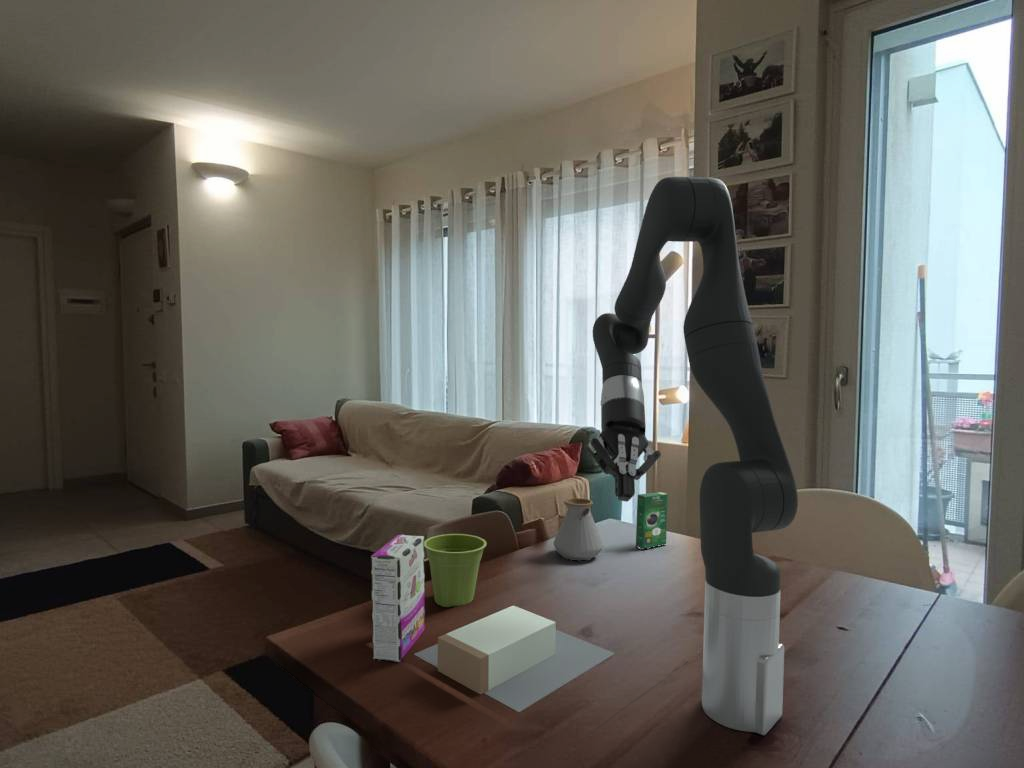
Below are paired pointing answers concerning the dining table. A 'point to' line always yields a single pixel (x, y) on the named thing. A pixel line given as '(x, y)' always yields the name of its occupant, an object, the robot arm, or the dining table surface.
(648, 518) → the coffee box
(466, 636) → the cream block
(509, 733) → the dining table surface
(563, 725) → the dining table surface
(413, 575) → the candy bar box
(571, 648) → the rubber mat
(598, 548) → the coffee pot
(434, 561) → the plant pot
